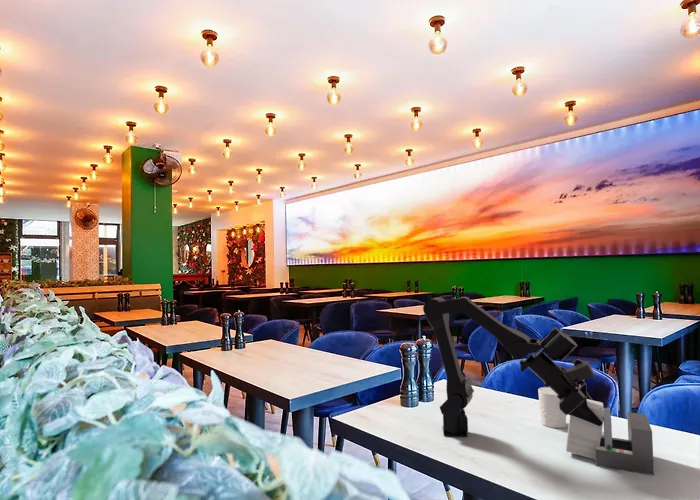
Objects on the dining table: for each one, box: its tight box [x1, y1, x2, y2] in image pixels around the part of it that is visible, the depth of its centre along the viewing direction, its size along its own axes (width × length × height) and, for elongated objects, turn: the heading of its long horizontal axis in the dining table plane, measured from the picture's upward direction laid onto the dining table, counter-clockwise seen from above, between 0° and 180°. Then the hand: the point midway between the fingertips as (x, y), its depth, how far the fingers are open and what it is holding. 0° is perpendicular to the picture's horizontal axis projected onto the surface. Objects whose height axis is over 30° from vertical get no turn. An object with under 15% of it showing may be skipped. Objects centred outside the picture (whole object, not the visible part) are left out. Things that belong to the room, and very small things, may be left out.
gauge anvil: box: [595, 412, 655, 476], centre depth 108 cm, size 12×12×10 cm
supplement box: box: [565, 399, 605, 461], centre depth 112 cm, size 7×7×13 cm
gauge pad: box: [603, 407, 613, 449], centre depth 109 cm, size 2×10×10 cm, turn 152°
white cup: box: [537, 386, 567, 429], centre depth 133 cm, size 8×8×10 cm
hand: (600, 418), depth 111 cm, fingers open, 8 cm apart
